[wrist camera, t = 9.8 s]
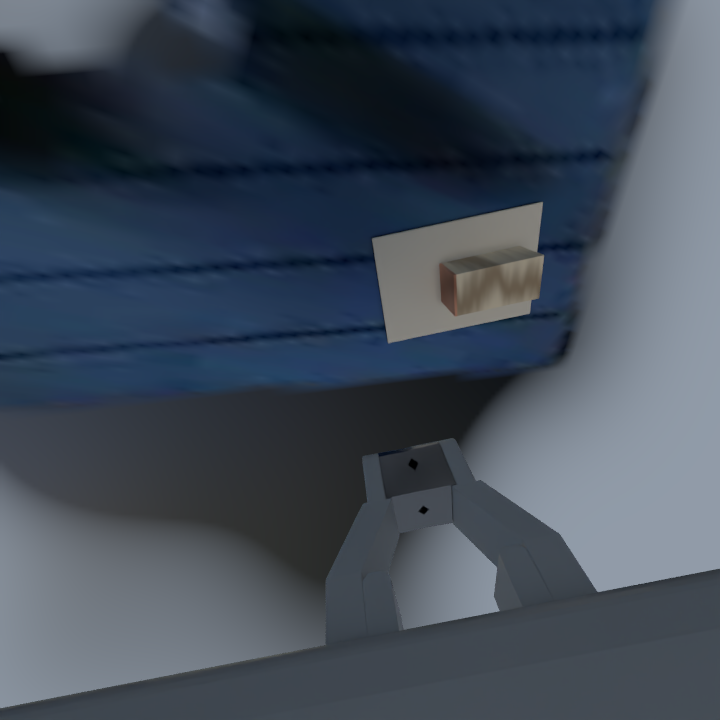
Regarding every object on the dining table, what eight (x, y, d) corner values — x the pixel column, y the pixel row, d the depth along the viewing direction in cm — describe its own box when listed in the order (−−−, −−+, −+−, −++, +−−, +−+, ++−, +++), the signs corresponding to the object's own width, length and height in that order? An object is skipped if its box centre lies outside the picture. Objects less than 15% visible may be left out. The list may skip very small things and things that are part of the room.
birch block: (453, 275, 33) (544, 255, 33) (439, 263, 38) (519, 245, 38) (454, 316, 36) (538, 298, 36) (441, 301, 40) (516, 285, 40)
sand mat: (371, 238, 36) (372, 238, 36) (540, 201, 36) (542, 202, 35) (387, 341, 43) (388, 343, 43) (527, 312, 43) (529, 313, 43)
